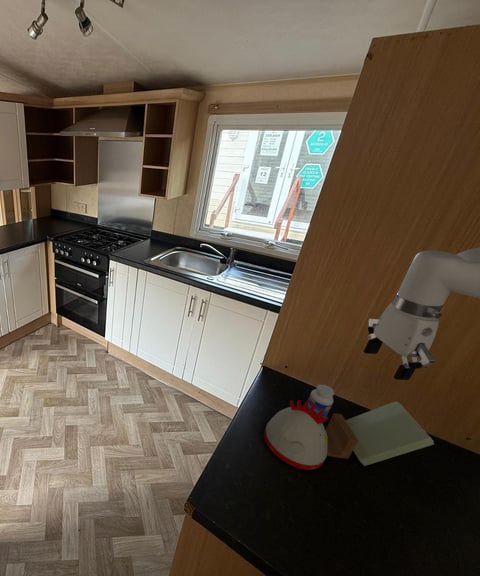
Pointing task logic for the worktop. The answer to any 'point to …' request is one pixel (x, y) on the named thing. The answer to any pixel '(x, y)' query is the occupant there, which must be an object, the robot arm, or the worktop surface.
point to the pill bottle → (321, 399)
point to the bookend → (340, 438)
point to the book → (386, 433)
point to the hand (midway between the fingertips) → (384, 365)
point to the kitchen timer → (298, 436)
